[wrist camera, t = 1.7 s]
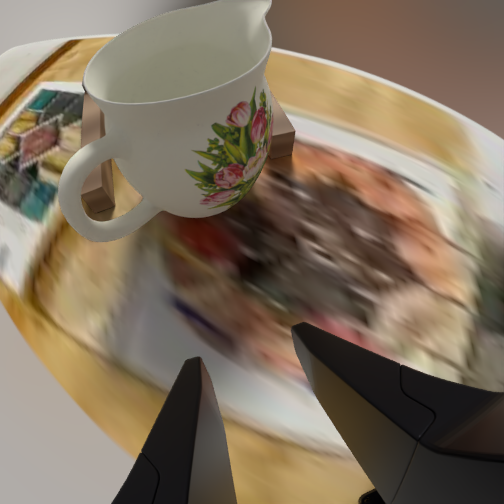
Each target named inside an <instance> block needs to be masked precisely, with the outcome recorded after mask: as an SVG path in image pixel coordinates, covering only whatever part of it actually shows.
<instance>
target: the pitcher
mask: <svg viewBox="0 0 504 504" xmlns="http://www.w3.org/2000/svg"><path fill="white" fill-rule="evenodd" d="M271 4H272V0H218V1H215V2H212V3H208V4H203V5H199V6H194V7H189V8H183V9H179V10H175V11H171V12H168V13H164V14H162V15H159V16H156V17H153V18H151V19H148V20H146V21H144V22H141V23H139V24H137V25H135V26H133V27H131V28H130V29H128V30H126V31H124V32H123V33H121V34H119V35H118V36H116V37H115V38H113V39H112V40H111V41H109V42H108V43H107V44H105V45H104V46H103V47H102V48H101V49H100V50H99V51H98V52H97V53H96V54H95V55H94V56H93V58H92V59H91V60H90V62H89V63H88V65H87V67H86V69H85V72H84V76H83V83H84V87H85V89H86V91H87V93H88V94H89V96H90V97H91V98H92V100H93V101H94V102H95V103H96V104H97V105H98V106H99V108H100V109H101V110H102V112H103V113H104V114H105V132H106V135H105V136H104V137H102V138H100V139H97V140H95V141H93V142H91V143H89V144H87V145H86V146H84V147H83V148H81V149H80V150H79V151H78V152H77V153H76V154H75V155H74V156H73V157H72V158H71V159H70V160H69V162H68V163H67V165H66V166H65V168H64V170H63V173H62V175H61V178H60V182H59V188H58V198H59V204H60V207H61V211H62V213H63V214H64V216H65V218H66V220H67V221H68V223H69V224H70V225H71V226H72V227H73V228H74V229H75V230H76V231H77V232H78V233H79V234H80V235H82V236H83V237H85V238H86V239H88V240H91V241H94V242H109V241H113V240H117V239H120V238H123V237H125V236H127V235H129V234H131V233H133V232H134V231H136V230H137V229H139V228H140V227H142V226H143V225H144V224H146V223H147V222H148V221H149V220H151V219H152V218H153V217H154V216H155V215H156V214H157V213H159V212H161V211H167V212H169V213H171V214H174V215H177V216H182V217H188V218H203V217H208V216H213V215H216V214H219V213H221V212H223V211H225V210H227V209H229V208H231V207H232V206H233V205H235V204H236V203H237V202H239V201H240V200H241V199H242V198H243V197H244V196H245V195H246V194H247V192H248V191H249V190H250V189H251V187H252V186H253V185H254V183H255V181H256V180H257V178H258V176H259V175H260V173H261V171H262V168H263V166H264V164H265V161H266V159H267V156H268V152H269V149H270V144H271V139H272V133H273V105H272V98H271V93H270V90H269V86H268V83H267V80H266V78H265V76H264V72H265V68H266V64H267V61H268V58H269V55H270V51H271V47H272V36H271V32H270V30H269V28H268V26H267V23H266V22H265V16H266V14H267V12H268V11H269V9H270V7H271ZM111 158H114V160H115V162H116V164H117V166H118V168H119V170H120V171H121V173H122V174H123V176H124V177H125V178H126V180H127V181H128V182H129V183H130V185H131V186H132V187H133V188H134V189H135V190H136V191H137V192H138V193H139V194H141V195H142V196H143V200H142V201H141V202H140V203H139V204H138V205H137V206H136V207H135V208H133V209H132V210H131V211H129V212H128V213H126V214H124V215H122V216H120V217H118V218H115V219H112V220H109V221H104V222H98V221H95V220H92V219H91V218H89V217H88V216H87V215H86V213H85V211H84V209H83V206H82V202H81V189H82V186H83V184H84V181H85V179H86V178H87V176H88V175H89V174H90V172H91V171H92V170H93V169H94V168H96V167H97V166H98V165H99V164H101V163H103V162H104V161H106V160H109V159H111Z"/></svg>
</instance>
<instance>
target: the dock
mask: <svg viewBox="0 0 504 504" xmlns="http://www.w3.org/2000/svg"><path fill="white" fill-rule="evenodd" d="M82 86H83V88H84V91H85V96H84V106H83V117H82V131H81V148H83V147H84V146H86V145H87V144H89V143H91V142H93V141H95V140H97V139H100V138H102V137H104V136H105V135H106V132H105V114H104V113H103V112H102V110H101V109H100V108H99V106H98V105H97V104H96V103H95V102H94V101H93V100H92V98H91V97H90V96H89V94H88V93H87V91H86V89H85V87H84V83H83V82H82ZM269 90H270V89H269ZM270 93H271V98H272V105H273V133H272V139H271V144H270V149H269V152H268V155H269V157H270V159H274V158H278V157H282V156H287V155H291V154H292V151H293V144H294V138H295V129H294V128H293V126H292V124H291V123H290V121H289V119H288V118H287V116H286V115H285V113H284V111H283V110H282V108H281V107H280V105H279V103H278V102H277V100H276V99H275V97H274V95H273V94H272V92H271V91H270ZM81 197H82V198H83V199H84V200H85V202H86V203H87V204H88V205H89V207H90V208H91V209H92V210H93V212H94V213H97V212H100V211H103V210H106V209H108V208H111V207H114V206H115V199H114V189H113V178H112V165H111V159H109V160H106V161H104V162H103V163H101V164H99V165H98V166H97V167H96V168H94V169H93V170H92V171H91V172H90V174H89V175H88V176H87V178H86V179H85V181H84V184H83V186H82V189H81Z"/></svg>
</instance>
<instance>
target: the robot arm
mask: <svg viewBox="0 0 504 504" xmlns="http://www.w3.org/2000/svg"><path fill="white" fill-rule="evenodd" d="M291 333H292V338H293V343H294V348H295V351H296V354H297V357H298V359H299V361H300V363H301V365H302V368H303V370H304V372H305V374H306V376H307V379H308V381H309V383H310V385H311V387H312V390H313V392H314V394H315V396H316V397H317V399H318V401H319V403H320V404H321V406H322V407H323V409H324V410H325V412H326V414H327V415H328V417H329V418H330V420H331V421H332V423H333V424H334V426H335V427H336V429H337V431H338V432H339V434H340V435H341V437H342V438H343V440H344V441H345V443H346V444H347V446H348V447H349V449H350V450H351V452H352V454H353V455H354V457H355V458H356V460H357V461H358V463H359V464H360V466H361V467H362V469H363V470H364V472H365V473H366V475H367V476H368V478H369V479H370V481H371V482H372V484H373V485H374V487H375V489H373V490H371V491H369V492H367V493H365V494H363V495H362V496H361V497H360V499H359V502H360V504H504V392H492V391H487V390H483V389H479V388H474V387H470V386H467V385H463V384H459V383H455V382H451V381H447V380H444V379H441V378H437V377H434V376H431V375H428V374H425V373H423V372H420V371H417V370H415V369H412V368H410V367H407V366H405V365H401V366H400V363H397V362H395V361H393V360H390V359H388V358H386V357H383V356H381V355H379V354H376V353H374V352H372V351H369V350H367V349H365V348H362V347H360V346H358V345H355V344H353V343H351V342H349V341H346V340H344V339H342V338H340V337H337V336H335V335H333V334H331V333H328V332H326V331H324V330H322V329H319V328H317V327H315V326H313V325H311V324H309V323H306V322H302V323H299V324H296V325H294V326H292V327H291ZM141 452H142V453H140V454H139V456H138V458H137V460H136V462H135V464H134V466H133V468H132V470H131V471H130V473H129V475H128V477H127V479H126V481H125V482H124V484H123V486H122V487H121V489H120V491H119V492H118V494H117V496H116V497H115V499H114V500H113V502H112V503H111V504H237V500H236V494H235V489H234V483H233V477H232V471H231V465H230V459H229V453H228V447H227V440H226V434H225V429H224V424H223V420H222V417H221V413H220V410H219V406H218V403H217V399H216V396H215V392H214V388H213V385H212V381H211V378H210V376H209V374H208V372H207V369H206V367H205V365H204V363H203V361H202V359H201V358H200V357H194V358H191V359H187V360H186V361H185V363H184V365H183V367H182V369H181V371H180V373H179V375H178V377H177V379H176V381H175V383H174V385H173V387H172V389H171V391H170V393H169V395H168V397H167V399H166V401H165V403H164V405H163V407H162V409H161V411H160V413H159V415H158V417H157V419H156V421H155V423H154V425H153V427H152V429H151V431H150V433H149V435H148V437H147V439H146V442H145V444H144V446H143V448H142V450H141ZM368 497H369V499H368V500H367V501H364V500H365V499H366V498H368Z"/></svg>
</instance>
